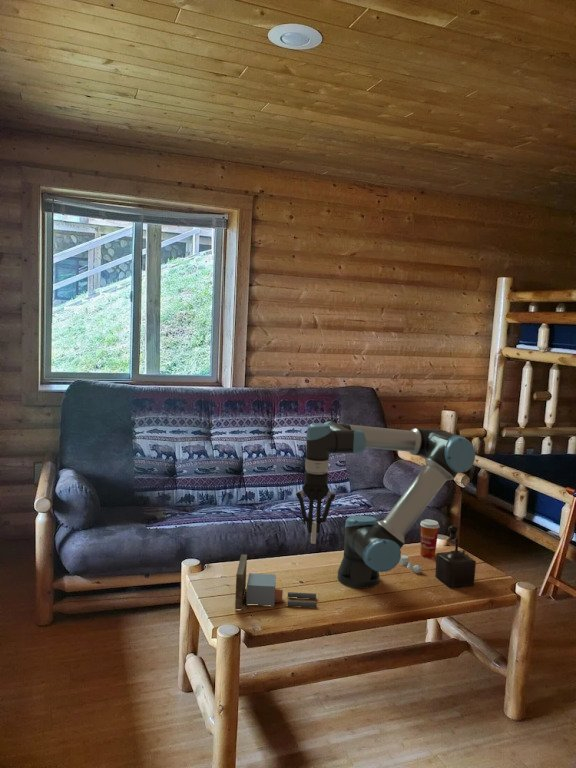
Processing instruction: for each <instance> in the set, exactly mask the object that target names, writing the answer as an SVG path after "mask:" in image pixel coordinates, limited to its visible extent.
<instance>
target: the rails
mask: <svg viewBox="0 0 576 768" xmlns="http://www.w3.org/2000/svg"><path fill="white" fill-rule="evenodd" d="M288 597H297V598H309V599H308V600H315V599H316V600H317V593H313V592H311V593H310V592H308V593H307V592H293V591H288V592H287V598H288ZM308 600H290V599H289V600H288V599H287V603H286V604H287V605H288V606H287V605H286V606H287V607H289V606H301V607H300V608H309V607H315V608H314V609H317V607H318V606H317V605H318V601H308Z"/></svg>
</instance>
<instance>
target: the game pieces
mask: <svg viewBox="0 0 576 768" xmlns="http://www.w3.org/2000/svg"><path fill="white" fill-rule="evenodd" d="M399 563H400V565H401V566H406V567H407V568H408V569H407V568H406V569H407V570H410V569H413V570H412V571H413V573H415V574H421V572H422V570H423V566H421V565H420V564H415V565H413V563H412V561H410V557H409V556H407V555H406V554H402V555H401V558H400V561H399ZM399 563H398V564H399Z"/></svg>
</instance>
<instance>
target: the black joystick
mask: <svg viewBox="0 0 576 768" xmlns="http://www.w3.org/2000/svg"><path fill="white" fill-rule="evenodd" d="M447 528H448V529H447V530H448V532H449V533H450V536H449V538H447V542H448V543H450V544H453V545H454V547H455V548H454V550H451V551H450V550H449V551H444V552H438V553H436V559H435V561H436V562H435V575H434V576H435V578H436V579H437V580H438V581H439V582H441V583H442V584H443V585H445V586H446V587H447V588H449V589H460V588H468V587H470V588H471V587H475V577H476V565H477V563H476V560H475V559H473V558H472V557H470V555H469V554H468V553H466V550H463V551H460V550H458V549H459V544H460V539H459V537H458V532H459V527H458V526H457V525H449V527H447ZM453 540H454V541H453Z"/></svg>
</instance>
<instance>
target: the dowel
mask: <svg viewBox="0 0 576 768" xmlns="http://www.w3.org/2000/svg"><path fill="white" fill-rule="evenodd" d="M283 595H284V592H283V589H280V588H279V589H277V588H275V600H274V601H275V602H274V603H283Z"/></svg>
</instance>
